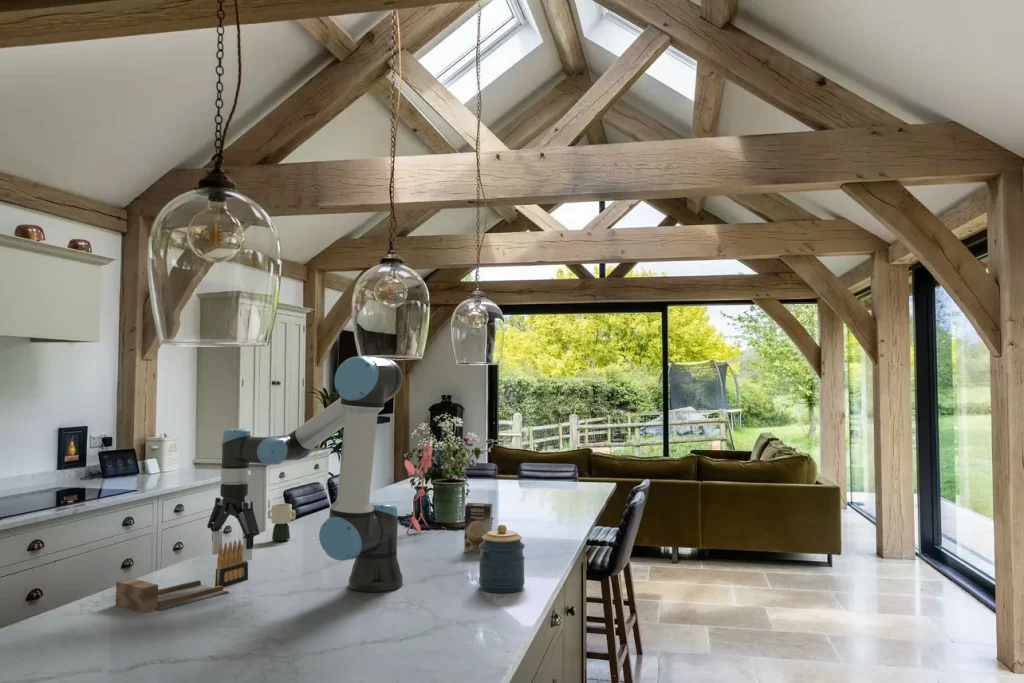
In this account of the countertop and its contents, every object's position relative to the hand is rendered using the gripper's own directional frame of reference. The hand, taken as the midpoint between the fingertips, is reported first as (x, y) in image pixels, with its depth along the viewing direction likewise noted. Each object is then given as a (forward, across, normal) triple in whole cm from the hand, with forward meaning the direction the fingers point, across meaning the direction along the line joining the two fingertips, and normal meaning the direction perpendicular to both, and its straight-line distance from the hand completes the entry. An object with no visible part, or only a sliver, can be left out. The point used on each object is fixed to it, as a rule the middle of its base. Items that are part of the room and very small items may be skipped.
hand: (231, 557), depth 216 cm
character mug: (+8, +36, -48) cm, 60 cm away
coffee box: (+7, -34, -74) cm, 82 cm away
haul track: (+7, -1, +19) cm, 20 cm away
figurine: (+7, +4, -93) cm, 93 cm away
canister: (+6, -68, -39) cm, 78 cm away
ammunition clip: (+8, 0, 0) cm, 8 cm away
